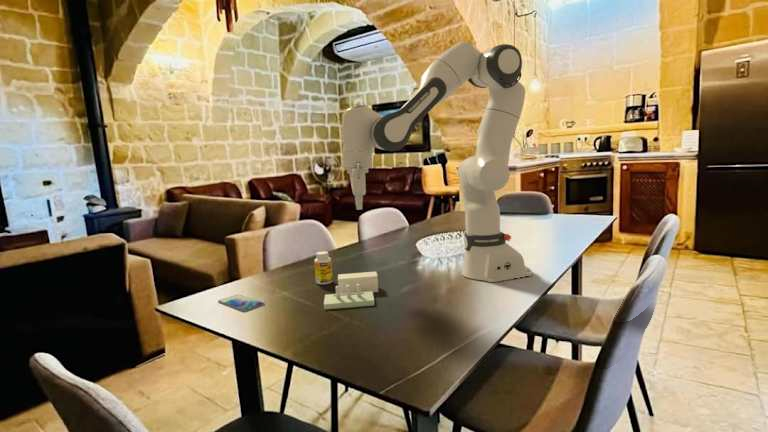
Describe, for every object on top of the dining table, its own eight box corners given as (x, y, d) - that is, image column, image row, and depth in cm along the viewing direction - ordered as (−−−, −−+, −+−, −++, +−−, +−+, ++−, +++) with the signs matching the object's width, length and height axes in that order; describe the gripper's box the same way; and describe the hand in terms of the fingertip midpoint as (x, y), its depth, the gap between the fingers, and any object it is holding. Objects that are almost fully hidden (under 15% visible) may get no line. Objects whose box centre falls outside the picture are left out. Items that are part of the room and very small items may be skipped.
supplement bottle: (320, 286, 138) (317, 255, 136) (313, 282, 142) (310, 252, 141) (335, 282, 141) (333, 252, 139) (328, 278, 145) (326, 249, 144)
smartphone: (238, 294, 133) (266, 303, 124) (238, 296, 133) (266, 306, 124) (216, 300, 128) (243, 310, 118) (217, 303, 128) (244, 313, 118)
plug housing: (377, 286, 134) (376, 271, 133) (378, 291, 129) (377, 276, 128) (339, 289, 133) (338, 274, 132) (339, 295, 128) (337, 279, 127)
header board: (372, 295, 126) (371, 279, 125) (374, 305, 118) (373, 288, 118) (325, 299, 125) (324, 283, 124) (324, 309, 117) (322, 292, 116)
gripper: (370, 162, 117) (371, 211, 119) (366, 160, 137) (367, 203, 139) (347, 162, 116) (348, 212, 118) (346, 161, 136) (348, 203, 138)
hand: (358, 207), depth 129 cm, fingers open, 8 cm apart
